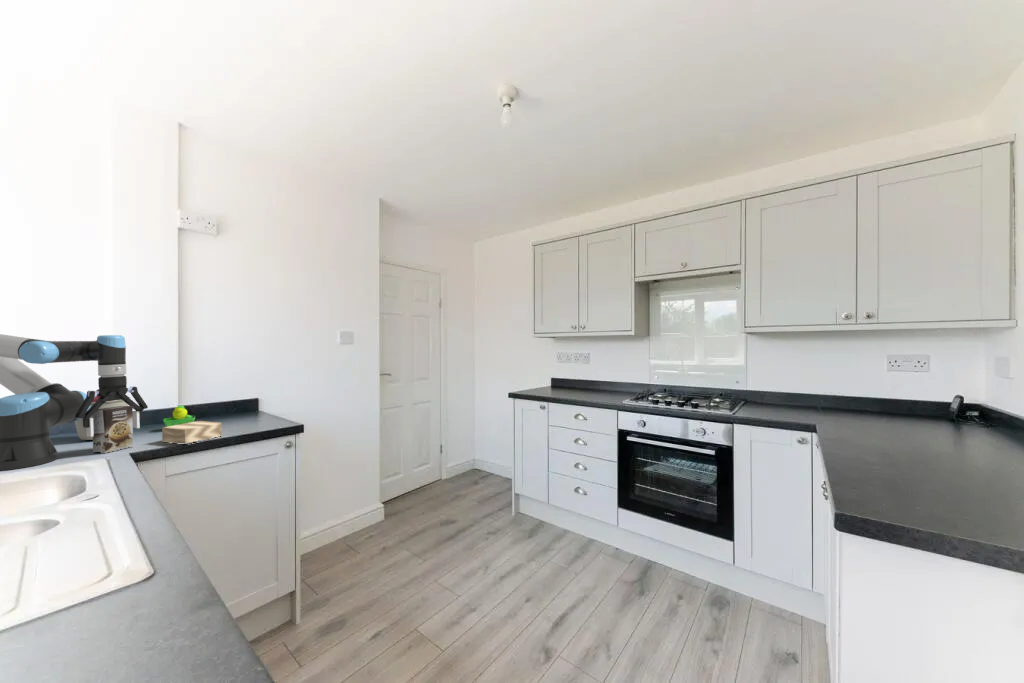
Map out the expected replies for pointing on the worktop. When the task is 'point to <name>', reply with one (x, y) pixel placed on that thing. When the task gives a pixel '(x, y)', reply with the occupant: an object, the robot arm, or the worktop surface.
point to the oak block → (191, 432)
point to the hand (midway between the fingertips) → (114, 432)
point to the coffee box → (113, 429)
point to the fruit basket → (179, 417)
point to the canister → (79, 423)
